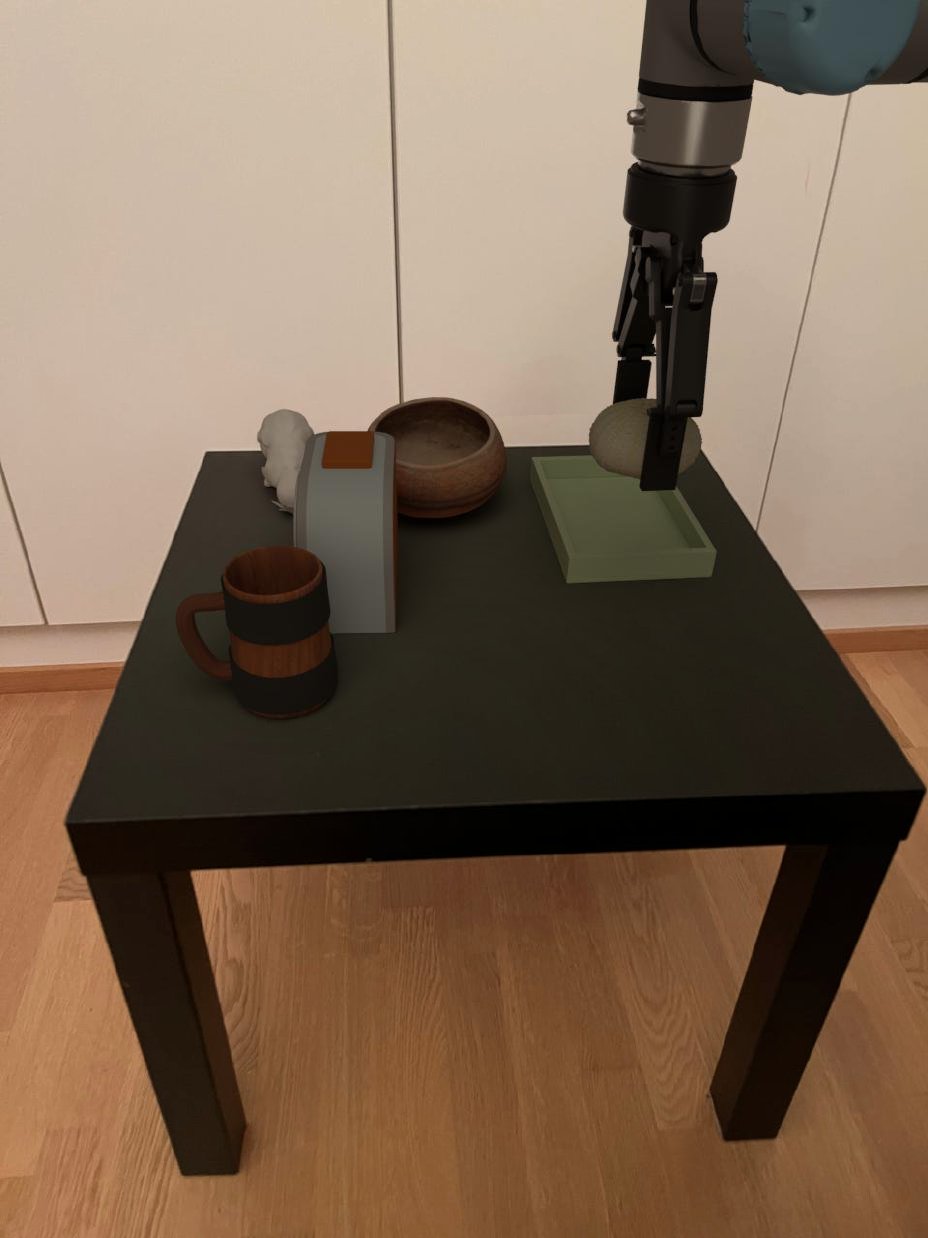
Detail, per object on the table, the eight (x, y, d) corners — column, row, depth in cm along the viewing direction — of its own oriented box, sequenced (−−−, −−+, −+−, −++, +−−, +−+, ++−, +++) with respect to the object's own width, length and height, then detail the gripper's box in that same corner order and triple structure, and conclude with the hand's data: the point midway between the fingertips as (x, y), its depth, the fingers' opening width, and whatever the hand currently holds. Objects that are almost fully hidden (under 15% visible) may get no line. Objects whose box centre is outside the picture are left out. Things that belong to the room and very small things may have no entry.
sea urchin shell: (732, 444, 77) (695, 394, 71) (673, 523, 78) (631, 479, 72) (653, 405, 83) (613, 355, 77) (599, 478, 84) (554, 434, 78)
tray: (711, 577, 94) (717, 551, 92) (566, 583, 92) (569, 557, 90) (652, 476, 111) (656, 452, 109) (530, 480, 110) (531, 456, 108)
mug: (190, 669, 80) (167, 551, 74) (331, 650, 83) (322, 535, 76) (191, 737, 74) (167, 615, 67) (345, 714, 76) (337, 594, 69)
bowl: (346, 531, 99) (341, 444, 94) (380, 465, 112) (377, 384, 106) (494, 546, 98) (498, 458, 92) (512, 477, 110) (516, 395, 104)
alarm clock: (315, 546, 97) (304, 423, 89) (398, 546, 97) (395, 423, 89) (300, 633, 85) (287, 499, 77) (396, 632, 85) (392, 499, 77)
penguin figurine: (310, 400, 105) (323, 456, 96) (315, 466, 111) (328, 525, 102) (252, 404, 104) (260, 461, 95) (260, 470, 110) (268, 531, 101)
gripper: (594, 135, 74) (568, 406, 87) (677, 201, 56) (630, 529, 69) (687, 135, 74) (648, 404, 88) (798, 201, 57) (729, 525, 70)
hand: (640, 459), depth 79 cm, fingers closed on sea urchin shell, 9 cm apart
